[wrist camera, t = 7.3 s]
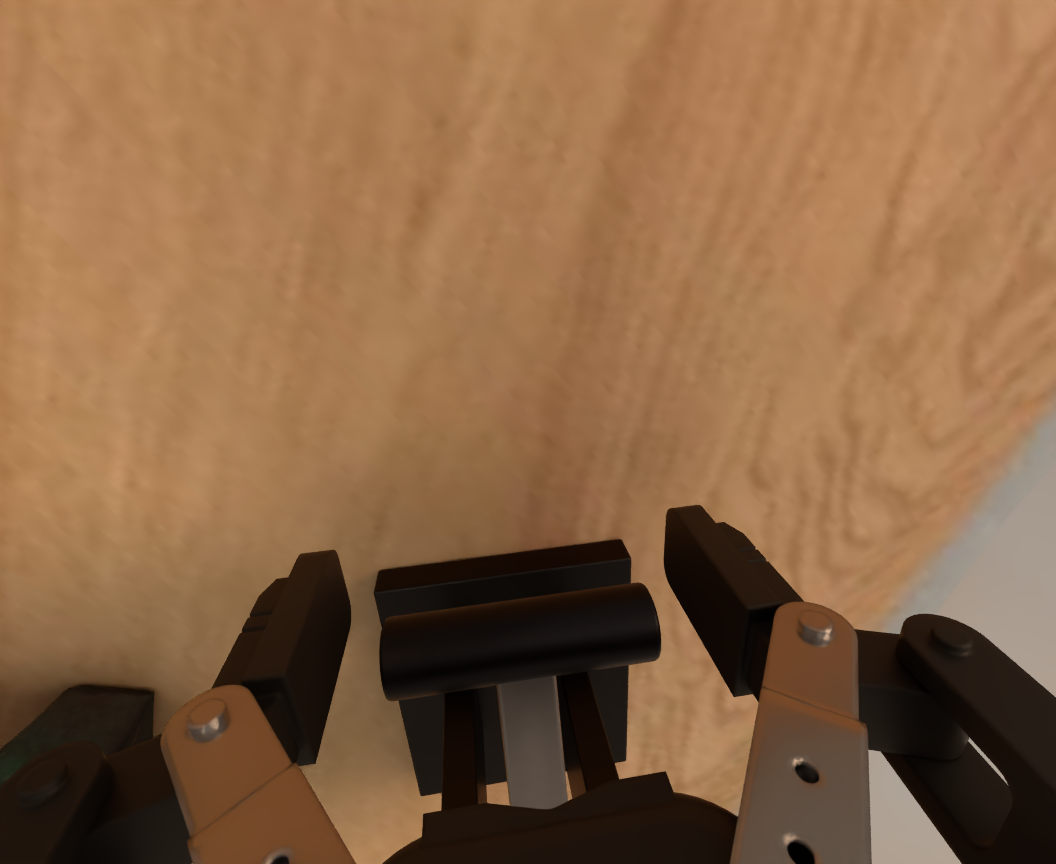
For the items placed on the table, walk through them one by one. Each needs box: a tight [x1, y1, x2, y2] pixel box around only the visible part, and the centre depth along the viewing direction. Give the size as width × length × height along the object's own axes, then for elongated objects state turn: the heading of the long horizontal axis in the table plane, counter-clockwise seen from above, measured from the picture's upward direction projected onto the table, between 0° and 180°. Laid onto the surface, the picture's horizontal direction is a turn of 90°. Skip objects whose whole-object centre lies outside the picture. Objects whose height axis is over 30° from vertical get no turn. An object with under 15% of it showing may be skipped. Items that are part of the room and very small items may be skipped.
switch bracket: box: [374, 539, 631, 811], centre depth 15 cm, size 11×9×13 cm
